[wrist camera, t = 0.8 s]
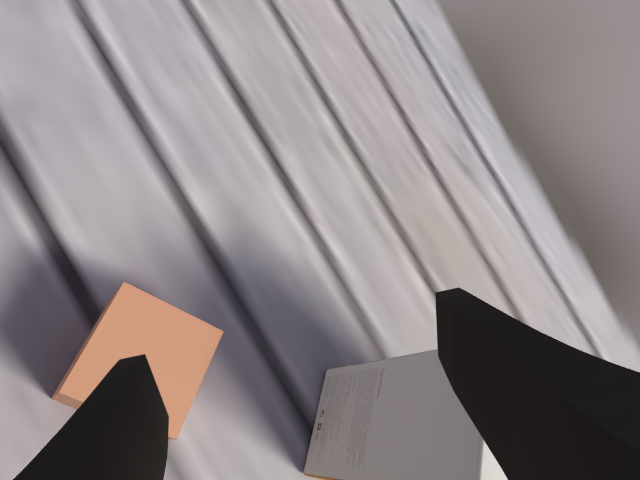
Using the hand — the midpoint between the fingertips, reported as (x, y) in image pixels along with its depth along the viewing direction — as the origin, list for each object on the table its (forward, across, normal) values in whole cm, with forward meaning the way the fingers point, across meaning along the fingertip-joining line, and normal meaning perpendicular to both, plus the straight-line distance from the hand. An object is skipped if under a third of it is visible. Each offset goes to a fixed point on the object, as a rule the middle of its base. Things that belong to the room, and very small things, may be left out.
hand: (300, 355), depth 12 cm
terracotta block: (+11, +9, +8) cm, 16 cm away
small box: (+12, -3, +17) cm, 21 cm away
